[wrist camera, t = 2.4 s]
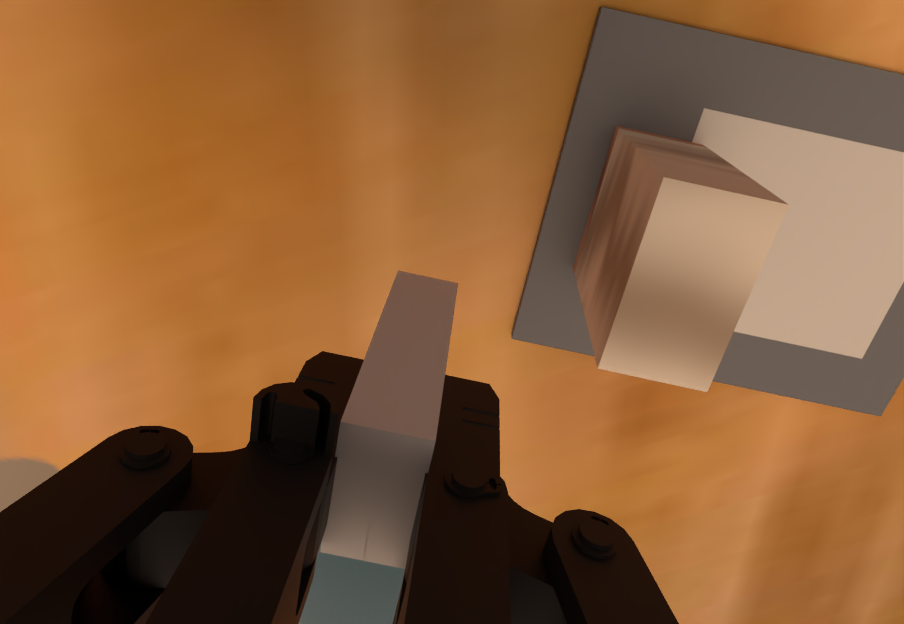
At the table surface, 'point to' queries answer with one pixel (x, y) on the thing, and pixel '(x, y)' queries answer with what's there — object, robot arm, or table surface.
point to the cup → (351, 592)
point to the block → (670, 257)
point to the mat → (772, 166)
